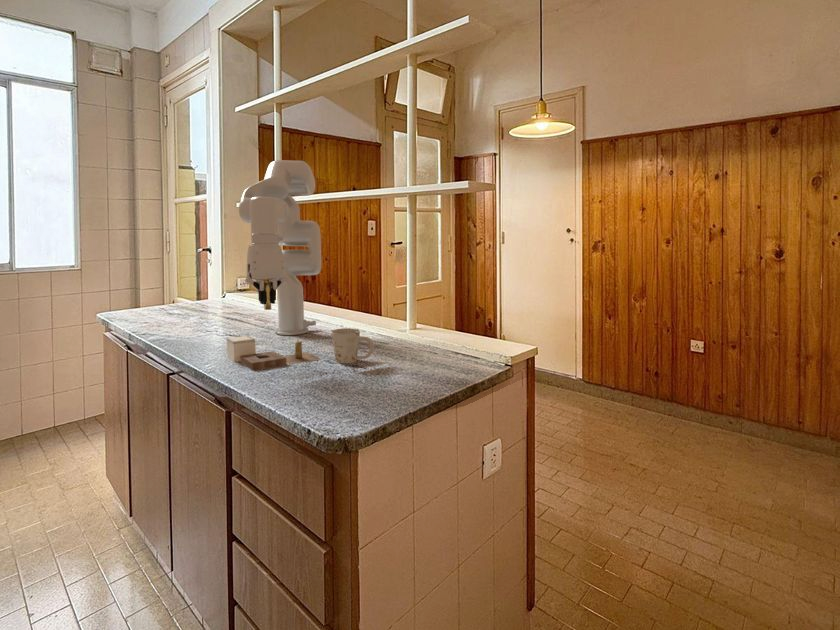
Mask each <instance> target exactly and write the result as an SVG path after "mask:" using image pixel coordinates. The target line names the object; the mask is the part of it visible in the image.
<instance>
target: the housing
mask: <svg viewBox="0 0 840 630" xmlns="http://www.w3.org/2000/svg"><path fill="white" fill-rule="evenodd" d="M226 352H227V353H226V354H227V355H226V356H227V358H228V359H229V360H231V361H232V362H234V363H236V362H237V363H238V362H240V356H243V355H250V354H257V352H256V339H255V338H253V337H252V336H249V335H241V336H233V337H227V338H226Z"/></svg>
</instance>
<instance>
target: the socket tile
mask: <svg viewBox="0 0 840 630" xmlns="http://www.w3.org/2000/svg"><path fill="white" fill-rule="evenodd" d="M284 356H285V355H282V354H279V353H277V352H276V351H273V350H271V351H265V352H258V353H257V352H256V354H250V355H243V356H240V361H239V362H240V363H241V365H244V366H245V367H247V368H248V369H249V370H251V371H256V370H257V371H258V370H262V369H270V368H275V367H281V366H287V364H288V363H287V359H286V357H284Z"/></svg>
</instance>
